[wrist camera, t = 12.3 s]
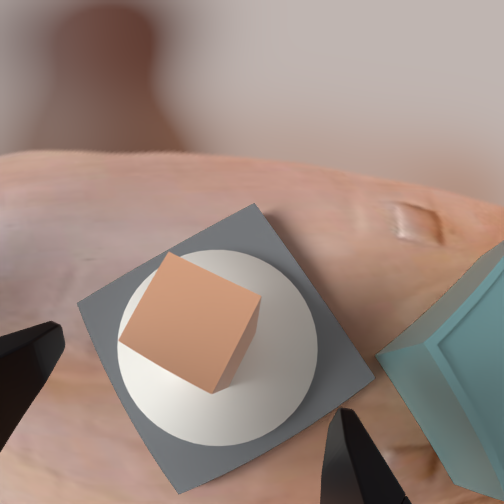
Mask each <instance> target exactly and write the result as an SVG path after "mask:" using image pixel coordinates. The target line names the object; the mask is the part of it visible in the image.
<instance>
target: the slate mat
mask: <svg viewBox="0 0 504 504" xmlns="http://www.w3.org/2000/svg"><path fill="white" fill-rule="evenodd" d="M205 250H229V251H236V252H240V253H244V254H248V255H251V256H253V257H256V258H258V259H260V260H262V261H264V262H266V263H268V264H270V265H271V266H273V267H274V268H276V269H277V270H279V271H280V272H281V273H282V274H283V275H284V276H286V277H287V278H288V279H289V280H290V281H291V282H292V283H293V285H294V286H295V287H296V288H297V289H298V291H299V292H300V294H301V295H302V297H303V298H304V300H305V302H306V304H307V306H308V308H309V310H310V312H311V315H312V318H313V321H314V324H315V329H316V334H317V347H318V353H317V364H316V368H315V372H314V377H313V379H312V382H311V385H310V387H309V390H308V391H307V393H306V395H305V397H304V399H303V400H302V402H301V403H300V405H299V406H298V407H297V409H296V410H295V411H294V412H293V413H292V414H291V415H290V416H289V417H288V418H287V419H286V420H285V421H284V422H283V423H282V424H281V425H279V426H278V427H277V428H275V429H274V430H272V431H271V432H269V433H267V434H265V435H263V436H261V437H259V438H257V439H254V440H251V441H249V442H245V443H241V444H236V445H228V446H207V445H201V444H195V443H192V442H188V441H185V440H182V439H180V438H177V437H175V436H173V435H171V434H169V433H167V432H166V431H164V430H163V429H161V428H160V427H158V426H157V425H156V424H154V423H153V422H152V421H151V420H150V419H149V418H147V417H146V416H145V414H144V413H143V412H142V411H141V410H140V409H139V408H138V406H137V405H136V403H135V402H134V400H133V399H132V398H131V396H130V394H129V392H128V390H127V388H126V386H125V384H124V381H123V378H122V375H121V372H120V367H119V362H118V350H117V344H118V333H119V328H120V323H121V320H122V317H123V314H124V311H125V309H126V307H127V304H128V302H129V300H130V299H131V297H132V296H133V294H134V293H135V291H136V289H137V288H138V287H139V286H140V285H141V284H142V282H143V281H144V280H145V279H146V278H147V277H148V276H149V275H151V274H152V273H153V272H154V271H155V270H157V269H158V268H159V267H160V265H161V263H162V262H163V260H164V258H165V257H166V255H167V253H168V252H171V253H173V254H175V255H177V256H179V257H181V256H183V255H186V254H190V253H193V252H197V251H205ZM77 305H78V307H79V310H80V313H81V315H82V318H83V320H84V323H85V325H86V328H87V330H88V333H89V335H90V337H91V340H92V342H93V344H94V347H95V349H96V351H97V354H98V356H99V358H100V360H101V362H102V365H103V367H104V369H105V371H106V373H107V375H108V377H109V379H110V381H111V383H112V385H113V387H114V389H115V391H116V393H117V395H118V397H119V399H120V401H121V403H122V405H123V406H124V408H125V410H126V412H127V414H128V416H129V417H130V419H131V421H132V423H133V424H134V426H135V428H136V430H137V431H138V433H139V435H140V436H141V438H142V440H143V441H144V443H145V445H146V446H147V448H148V450H149V451H150V453H151V454H152V456H153V457H154V459H155V461H156V462H157V464H158V465H159V467H160V468H161V470H162V471H163V473H164V474H165V476H166V477H167V478H168V480H169V481H170V483H171V484H172V486H173V487H174V488H175V490H176V491H177V493H178V494H181V493H184V492H186V491H188V490H191V489H193V488H195V487H198V486H200V485H202V484H204V483H206V482H209V481H211V480H213V479H215V478H217V477H219V476H221V475H223V474H225V473H227V472H229V471H231V470H233V469H235V468H237V467H239V466H241V465H243V464H245V463H247V462H249V461H251V460H253V459H254V458H256V457H258V456H260V455H262V454H263V453H265V452H267V451H269V450H271V449H272V448H274V447H276V446H277V445H279V444H281V443H283V442H284V441H286V440H288V439H289V438H291V437H292V436H294V435H296V434H297V433H299V432H300V431H302V430H304V429H305V428H307V427H308V426H310V425H311V424H313V423H314V422H316V421H317V420H319V419H320V418H322V417H323V416H325V415H326V414H328V413H329V412H331V411H332V410H334V409H335V408H336V407H338V406H339V405H341V404H342V403H343V402H345V401H346V400H347V399H349V398H350V397H352V396H353V395H354V394H356V393H357V392H358V391H360V390H361V389H362V388H364V387H365V386H366V385H367V384H369V383H370V382H371V381H373V380H374V379H375V376H374V375H373V373H372V372H371V370H370V369H369V367H368V366H367V364H366V363H365V361H364V360H363V358H362V357H361V355H360V354H359V352H358V351H357V349H356V348H355V346H354V345H353V343H352V342H351V340H350V339H349V337H348V336H347V334H346V333H345V331H344V330H343V328H342V327H341V325H340V324H339V323H338V321H337V320H336V318H335V317H334V315H333V314H332V312H331V311H330V309H329V308H328V306H327V305H326V303H325V302H324V301H323V299H322V298H321V296H320V295H319V293H318V292H317V290H316V289H315V288H314V286H313V285H312V283H311V282H310V280H309V279H308V277H307V276H306V275H305V273H304V272H303V270H302V269H301V267H300V266H299V265H298V263H297V262H296V260H295V259H294V257H293V256H292V255H291V253H290V252H289V250H288V249H287V248H286V246H285V245H284V243H283V242H282V240H281V239H280V238H279V236H278V235H277V233H276V232H275V231H274V229H273V228H272V226H271V225H270V224H269V222H268V221H267V220H266V218H265V217H264V215H263V214H262V213H261V211H260V210H259V208H258V207H257V206H256V204H255V203H253V204H251V205H250V206H248V207H246V208H244V209H242V210H240V211H238V212H236V213H234V214H233V215H231V216H229V217H227V218H225V219H223V220H221V221H220V222H218V223H216V224H214V225H212V226H210V227H208V228H207V229H205V230H203V231H201V232H199V233H198V234H196V235H194V236H192V237H190V238H188V239H187V240H185V241H183V242H181V243H179V244H178V245H176V246H174V247H172V248H171V249H169V250H167V251H165V252H163V253H162V254H160V255H158V256H156V257H155V258H153V259H151V260H149V261H148V262H146V263H144V264H142V265H141V266H139V267H137V268H135V269H134V270H132V271H130V272H129V273H127V274H125V275H123V276H122V277H120V278H118V279H117V280H115V281H113V282H111V283H110V284H108V285H106V286H105V287H103V288H101V289H100V290H98V291H96V292H95V293H93V294H91V295H90V296H88V297H86V298H85V299H83V300H81V301H80V302H78V303H77Z"/></svg>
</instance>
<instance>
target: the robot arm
mask: <svg viewBox="0 0 504 504" xmlns="http://www.w3.org/2000/svg"><path fill="white" fill-rule="evenodd" d="M64 348H65V340H64V335H63V330H62V327H61V325H60V324H57V323H55V322H53V321H49V322H46V323H42V324H39V325H36V326H33V327H30V328H27V329H23V330H20V331H17V332H14V333H11V334H8V335H4V336H1V337H0V452H1V451H2V449H3V447H4V446H5V444H6V442H7V441H8V439H9V437H10V436H11V434H12V433H13V431H14V430H15V428H16V426H17V425H18V423H19V422H20V420H21V419H22V417H23V416H24V414H25V412H26V411H27V409H28V408H29V406H30V405H31V403H32V402H33V401H34V399H35V398H36V396H37V395H38V393H39V392H40V390H41V389H42V387H43V386H44V384H45V383H46V381H47V379H48V378H49V376H50V374H51V372H52V370H53V369H54V367H55V365H56V363H57V361H58V360H59V358H60V356H61V354H62V353H63V351H64ZM405 495H406V494H405V492H404V491H403V489H402V487H401V486H400V484H399V483H398V481H397V479H396V478H395V476H394V475H393V473H392V471H391V470H390V468H389V466H388V465H387V463H386V462H385V460H384V458H383V457H382V455H381V453H380V452H379V450H378V449H377V447H376V445H375V444H374V442H373V441H372V439H371V437H370V436H369V434H368V432H367V431H366V429H365V428H364V426H363V424H362V423H361V421H360V420H359V418H358V416H357V415H356V413H355V412H354V410H352V409H348V408H339V409H338V411H337V412H336V414H335V416H334V418H333V419H332V421H331V423H330V425H329V428H328V433H327V440H326V447H325V454H324V461H323V467H322V475H321V497H320V504H412V503H411V502H410V500H409V499H408V497H407V496H405Z"/></svg>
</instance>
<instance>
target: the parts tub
mask: <svg viewBox="0 0 504 504" xmlns="http://www.w3.org/2000/svg"><path fill="white" fill-rule="evenodd" d="M375 357H376V358H377V360H378V361H379V363H380V364H381V366H382V368H383V369H384V371H385V372H386V374H387V375H388V377H389V378H390V380H391V381H392V383H393V384H394V386H395V388H396V389H397V391H398V392H399V394H400V395H401V397H402V399H403V400H404V402H405V403H406V405H407V407H408V408H409V410H410V411H411V413H412V414H413V416H414V418H415V419H416V421H417V423H418V424H419V426H420V427H421V429H422V431H423V432H424V434H425V436H426V437H427V439H428V440H429V442H430V444H431V445H432V447H433V449H434V450H435V452H436V454H437V455H438V457H439V459H440V461H441V462H442V464H443V466H444V467H445V469H446V471H447V472H448V474H449V476H450V478H451V479H452V481H453V483H454V484H455V485H458V486H460V487H463V488H466V489H469V490H471V491H474V492H477V493H480V494H483V495H486V496H489V497H492V498H495V499H498V500H501V501H504V241H502V242H501V243H499V244H498V245H497V246H495V247H494V248H492V249H491V250H489V251H488V252H487V253H485V254H484V255H482V256H481V257H480V258H479V259H478V260H477V261H476V262H475V263H474V264H473V265H472V267H471V268H470V269H469V270H468V271H467V272H466V273H465V274H464V275H463V276H462V277H461V278H460V279H459V280H458V281H457V282H456V283H455V284H454V285H453V286H452V287H451V288H450V289H449V290H448V291H447V292H446V293H445V294H444V295H443V296H442V297H441V298H440V299H439V300H438V301H437V302H436V303H435V304H434V305H433V306H431V307H430V308H429V309H428V310H427V311H426V312H425V313H424V314H423V315H422V316H421V317H419V318H418V319H417V320H416V321H415V322H414V323H413V324H412V325H410V326H409V327H408V328H407V329H406V330H405V331H404V332H402V333H401V334H400V335H399V336H398V337H397V338H395V339H394V340H393V341H392V342H391V343H389V344H388V345H387V346H386V347H384V348H383V349H382V350H381V351H379V352H378V353H377V354H376V355H375Z"/></svg>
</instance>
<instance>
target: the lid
mask: <svg viewBox="0 0 504 504" xmlns="http://www.w3.org/2000/svg"><path fill="white" fill-rule="evenodd" d="M117 350H118V362H119V367H120V372H121V375H122V378H123V381H124V384H125V386H126V388H127V390H128V392H129V394H130V396H131V398H132V399H133V400H134V402H135V403H136V405H137V406H138V408H139V409H140V410H141V411H142V412H143V413H144V414H145V416H146V417H147V418H149V419H150V420H151V421H152V422H153V423H154V424H156V425H157V426H158V427H160V428H161V429H163V430H164V431H166V432H167V433H169V434H171V435H173V436H175V437H177V438H180V439H182V440H185V441H188V442H192V443H195V444H201V445H207V446H228V445H236V444H241V443H245V442H249V441H251V440H254V439H257V438H259V437H261V436H263V435H265V434H267V433H269V432H271V431H272V430H274V429H275V428H277V427H278V426H279V425H281V424H282V423H283V422H284V421H285V420H286V419H287V418H288V417H289V416H290V415H291V414H292V413H293V412H294V411H295V410H296V409H297V407H298V406H299V405H300V403H301V402H302V400H303V399H304V397H305V395H306V393H307V391H308V390H309V387H310V385H311V382H312V379H313V377H314V372H315V368H316V364H317V353H318V347H317V334H316V329H315V324H314V321H313V318H312V315H311V312H310V310H309V308H308V306H307V304H306V302H305V300H304V298H303V297H302V295H301V294H300V292H299V291H298V289H297V288H296V287H295V286H294V285H293V283H292V282H291V281H290V280H289V279H288V278H287V277H286V276H284V275H283V274H282V273H281V272H280V271H279V270H277V269H276V268H274V267H273V266H271V265H270V264H268V263H266V262H264V261H262V260H260V259H258V258H256V257H253V256H251V255H248V254H244V253H240V252H236V251H229V250H205V251H197V252H193V253H190V254H186V255H183V256H181V257H179V256H177V255H175V254H173V253H171V252H168V253H167V255H166V257H165V258H164V260H163V262H162V263H161V265H160V267H159V268H158V269H157V270H155V271H154V272H153V273H152V274H151V275H149V276H148V277H147V278H146V279H145V280H144V281H143V282H142V284H141V285H140V286H139V287H138V288H137V289H136V291H135V293H134V294H133V296H132V297H131V299H130V300H129V302H128V304H127V307H126V309H125V311H124V314H123V317H122V320H121V323H120V328H119V333H118V344H117Z"/></svg>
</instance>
